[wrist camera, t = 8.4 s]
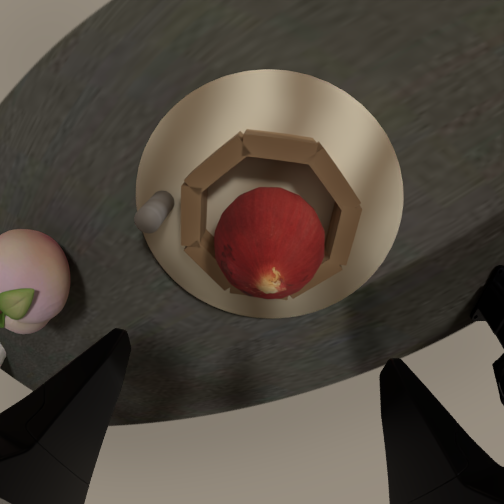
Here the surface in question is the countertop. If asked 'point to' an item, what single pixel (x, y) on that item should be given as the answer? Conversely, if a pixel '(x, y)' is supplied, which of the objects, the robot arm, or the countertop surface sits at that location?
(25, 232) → the decorative fruit
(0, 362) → the white cup
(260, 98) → the flange plate
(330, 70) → the countertop surface
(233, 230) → the onion
